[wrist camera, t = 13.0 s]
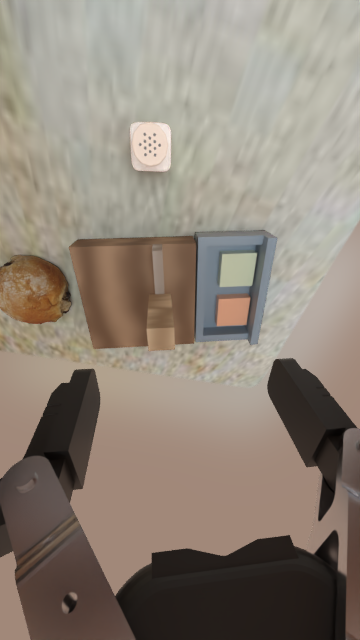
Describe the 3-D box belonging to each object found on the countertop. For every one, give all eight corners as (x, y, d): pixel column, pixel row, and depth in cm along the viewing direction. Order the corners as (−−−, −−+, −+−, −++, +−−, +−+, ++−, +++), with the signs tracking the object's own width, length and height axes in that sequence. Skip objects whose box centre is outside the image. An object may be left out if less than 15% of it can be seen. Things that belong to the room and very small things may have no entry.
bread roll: (53, 243, 38) (10, 235, 30) (91, 300, 39) (57, 307, 31) (10, 279, 40) (-41, 280, 33) (46, 332, 41) (4, 345, 33)
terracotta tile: (246, 324, 41) (243, 319, 43) (250, 297, 39) (247, 293, 40) (216, 326, 41) (214, 321, 42) (218, 299, 38) (216, 294, 40)
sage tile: (252, 285, 38) (248, 281, 39) (257, 252, 35) (253, 249, 36) (219, 287, 37) (217, 282, 39) (222, 254, 35) (219, 250, 36)
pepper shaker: (136, 170, 31) (128, 170, 22) (134, 129, 29) (124, 114, 20) (168, 171, 31) (172, 172, 23) (169, 131, 29) (173, 116, 21)
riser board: (98, 334, 43) (93, 348, 39) (77, 239, 34) (68, 247, 31) (191, 329, 44) (194, 343, 40) (192, 236, 35) (196, 243, 32)
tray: (193, 331, 44) (196, 347, 40) (195, 232, 35) (199, 240, 31) (248, 329, 44) (257, 344, 41) (264, 230, 36) (277, 237, 32)
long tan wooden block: (153, 335, 39) (152, 388, 29) (146, 244, 31) (141, 276, 22) (171, 334, 39) (176, 386, 29) (168, 243, 32) (172, 275, 22)
